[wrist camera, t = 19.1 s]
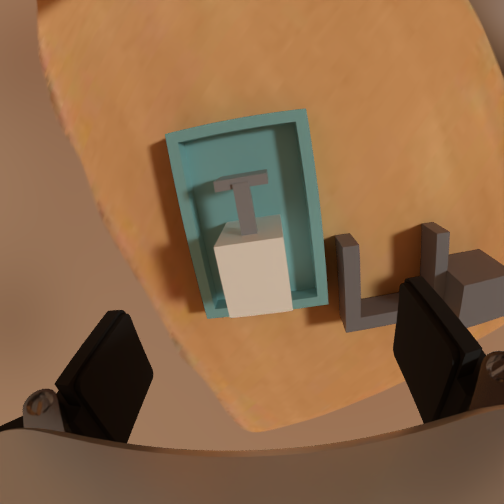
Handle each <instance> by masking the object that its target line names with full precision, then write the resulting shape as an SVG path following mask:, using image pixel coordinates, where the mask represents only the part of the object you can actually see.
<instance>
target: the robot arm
mask: <svg viewBox="0 0 504 504" xmlns="http://www.w3.org/2000/svg"><path fill="white" fill-rule="evenodd" d="M393 352H394V356H395V358H396V360H397V363H398V365H399V367H400V369H401V371H402V374H403V376H404V378H405V380H406V382H407V385H408V387H409V389H410V392H411V394H412V396H413V398H414V401H415V403H416V406H417V408H418V411H419V413H420V415H421V418H422V420H423V423H424V424H422V425H418V426H414V427H410V428H406V429H402V430H398V431H394V432H390V433H385V434H380V435H376V436H371V437H366V438H361V439H355V440H350V441H344V442H337V443H331V444H323V445H315V446H307V447H296V448H285V449H270V450H248V451H247V450H246V451H209V450H187V449H172V448H160V447H151V446H142V445H133V444H127V442H128V439H129V436H130V434H131V431H132V429H133V426H134V423H135V421H136V419H137V416H138V413H139V411H140V408H141V406H142V404H143V401H144V399H145V396H146V394H147V391H148V389H149V386H150V384H151V381H152V379H153V370H152V367H151V365H150V363H149V361H148V359H147V356H146V354H145V352H144V349H143V347H142V344H141V342H140V340H139V337H138V335H137V332H136V330H135V327H134V325H133V322H132V320H131V317H130V315H129V314H126V313H125V312H124V311H123V310H113V311H108V312H107V313H106V314H105V315H104V317H103V318H102V319H101V320H100V322H99V323H98V325H97V326H96V327H95V328H94V330H93V331H92V332H91V334H90V335H89V337H88V338H87V339H86V340H85V342H84V343H83V344H82V346H81V347H80V349H79V350H78V351H77V353H76V354H75V356H74V357H73V358H72V360H71V361H70V362H69V364H68V365H67V367H66V368H65V369H64V371H63V372H62V374H61V375H60V377H59V378H58V379H57V381H56V383H55V385H56V387H57V388H58V390H59V391H58V392H57V394H56V393H55V392H54V391H53V390H51V389H42V390H38V391H36V392H34V393H33V394H31V395H30V396H29V397H28V398H27V400H26V401H25V403H24V405H23V416H22V417H19V418H17V419H15V420H13V421H11V422H8V423H6V424H4V425H2V426H0V504H504V351H495V352H491V353H489V354H487V355H485V354H484V352H483V351H482V347H481V346H480V345H479V344H478V342H477V341H476V340H475V338H474V337H473V336H472V334H471V333H470V332H469V331H468V329H467V328H466V327H465V326H464V324H463V323H462V322H461V321H460V319H459V318H458V317H457V316H456V315H455V313H454V312H453V311H452V310H451V309H450V307H449V306H448V305H447V304H446V303H445V302H444V300H443V299H442V298H441V297H440V296H439V295H438V293H437V292H436V291H435V290H434V289H433V288H432V287H431V286H430V284H429V283H428V282H427V281H426V280H425V279H424V278H423V277H422V276H418V277H412V278H406V279H405V281H404V283H402V284H401V285H400V290H399V301H398V312H397V321H396V329H395V337H394V344H393Z"/></svg>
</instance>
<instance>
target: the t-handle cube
mask: <svg viewBox="0 0 504 504" xmlns="http://www.w3.org/2000/svg"><path fill="white" fill-rule="evenodd" d="M213 184H214V189H215V192H221V191H226V190H232V189H233V192H234V197H235V202H236V208H237V213H238V219H239V220H237V221H231V222H226V224H225V226H224V228H223V230H222V232H221V234H220V236H219V238H218V240H217V242H216V244H215V245H214V251H215V256H216V260H217V265H218V269H219V274H220V278H221V282H222V287H223V291H224V295H225V299H226V304H227V308H228V312H229V316H230V318H235V317H244V316H253V315H262V314H270V313H278V312H286V311H293V306H292V297H291V289H290V280H289V272H288V265H287V258H286V251H285V244H284V237H283V230H282V223H281V216H280V214H277V215H271V216H264V217H257V218H255V212H254V206H253V200H252V195H251V189H250V187H251V186H257V185H263V184H268V172H267V169H264V170H257V171H251V172H245V173H239V174H233V175H228V176H222V177H219V178H218V179H217V180H215V181H214V182H213Z"/></svg>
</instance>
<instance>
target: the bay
mask: <svg viewBox="0 0 504 504" xmlns="http://www.w3.org/2000/svg"><path fill="white" fill-rule="evenodd" d="M449 236H450V232H449V231H447V230H446V229H444V228H442V227H441V226H439V225H437V224H436V223H434V222H431V223H423V224H422V236H421V267H420V276H422V277H423V278H424V279H425V280H426V281H427V282H428V283H429V284H430V286H431V287H432V288H433V289H434V290H435V291H436V292H437V293H438V295H439V296H440V297H441V298H442V299H443V300H444V302H445V303H446V304H447V305H448V306H449V307H450V309H451V310H452V311H453V312H454V313H455V315H456V316H457V317H458V318H459V319H460V321H461V322H462V323H463V324H464V326H465V327H466V328H468V327H471V326H475V325H478V324H481V323H484V322H487V321H490V320H493V319H496V318H499V317H502V316H504V266H503V265H502V264H501V263H499V262H498V261H496V260H495V259H493V258H492V257H490V256H489V255H487V254H486V253H484V252H483V251H481V250H480V249H477V250H472V251H467V252H461V253H456V254H450V255H448V254H449ZM335 242H336V255H337V269H338V287H339V310H340V317H341V320H342V322H343V325H344V328H345V331H346V333H347V332H353V331H359V330H364V329H370V328H375V327H380V326H386V325H391V324H396V321H397V312H398V301H399V292H398V293H393V294H387V295H382V296H376V297H370V298H364V299H361V286H360V253H359V244H358V243H357V242H356V240H355V239H354V238H353V237H352V235H351V234H350V233H348V234H341V235H335Z"/></svg>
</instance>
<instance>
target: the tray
mask: <svg viewBox="0 0 504 504" xmlns="http://www.w3.org/2000/svg"><path fill="white" fill-rule="evenodd" d="M165 137H166V143H167V148H168V153H169V158H170V163H171V168H172V173H173V178H174V183H175V188H176V192H177V197H178V202H179V206H180V211H181V215H182V220H183V224H184V228H185V233H186V237H187V241H188V245H189V250H190V254H191V258H192V262H193V266H194V270H195V274H196V278H197V282H198V285H199V289H200V293H201V297H202V301H203V304H204V308H205V312H206V315H207V319H209V318H220V317H230V316H229V312H228V308H227V304H226V299H225V295H224V291H223V287H222V282H221V278H220V274H219V269H218V265H217V260H216V256H215V251H214V245H215V244H216V242H217V240H218V238H219V236H220V234H221V232H222V230H223V228H224V226H225V224H226V222H231V221H237V220H239V219H238V213H237V208H236V202H235V197H234V192H233V189H232V190H226V191H221V192H215V189H214V184H213V182H214V181H215V180H217V179H218V178H219V177H222V176H228V175H233V174H239V173H245V172H251V171H257V170H264V169H267V172H268V184H263V185H257V186H251V187H250V189H251V195H252V200H253V206H254V212H255V218H257V217H264V216H271V215H277V214H280V216H281V223H282V230H283V237H284V244H285V251H286V258H287V265H288V272H289V280H290V289H291V297H292V306H293V309H298V308H306V307H313V306H320V305H327V304H328V289H327V275H326V263H325V251H324V240H323V230H322V221H321V211H320V203H319V194H318V186H317V178H316V171H315V164H314V157H313V150H312V143H311V136H310V130H309V124H308V118H307V112H306V109H298V110H289V111H282V112H274V113H267V114H261V115H255V116H249V117H243V118H237V119H232V120H226V121H221V122H216V123H211V124H206V125H202V126H197V127H193V128H188V129H184V130H180V131H176V132H172V133H168V134H165Z"/></svg>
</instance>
